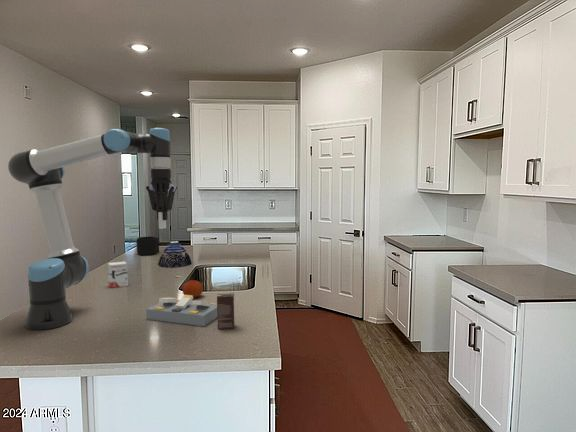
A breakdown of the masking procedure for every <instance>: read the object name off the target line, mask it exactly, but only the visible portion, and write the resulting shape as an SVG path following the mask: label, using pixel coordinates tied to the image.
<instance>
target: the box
mask: <svg viewBox="0 0 576 432" xmlns="http://www.w3.org/2000/svg"><path fill="white" fill-rule="evenodd" d="M216 304H217V315H218V317H217V329H218V330H222V329H228V330H229V329H235V293H233V292H232V293H217V295H216Z"/></svg>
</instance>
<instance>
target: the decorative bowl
mask: <svg viewBox="0 0 576 432" xmlns="http://www.w3.org/2000/svg"><path fill="white" fill-rule="evenodd" d="M183 253H184V255H183ZM164 254H165V255H164ZM157 262H158V266H159V267H160V268H166V269H167V268H170V269H171V268H173V269H174V268H175V269H176V268H177V267H178V268H183V267H188V266H191V265H192V259H191V256H190V255H189V254H188V252H187V250H186V249H185V247H184V246H182V244H180V243H179V241H177V240H176V241H175V240H174V241H169V244H167V247H165V248H164V250H163V253H161V255H160V256H159V259H158V261H157Z"/></svg>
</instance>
